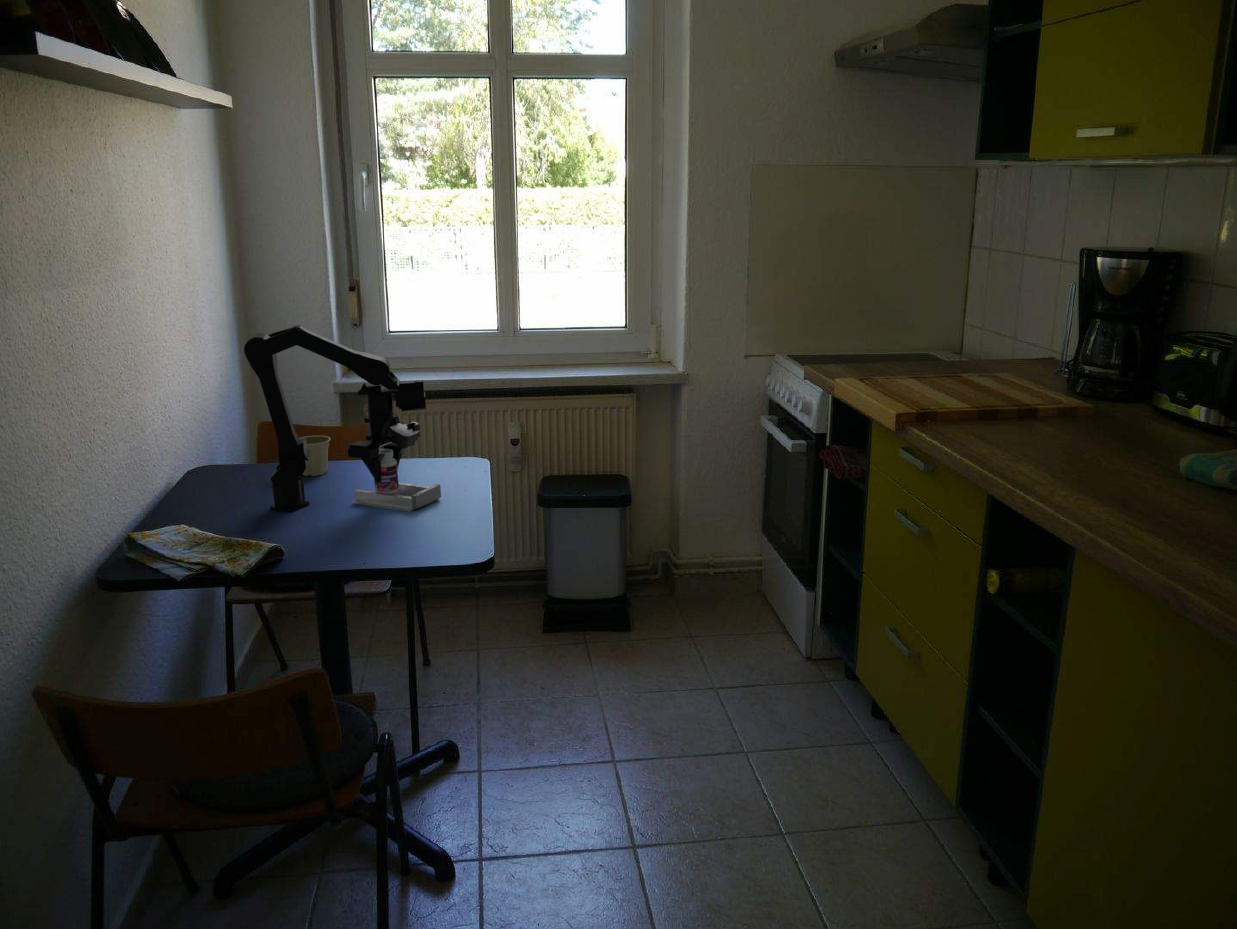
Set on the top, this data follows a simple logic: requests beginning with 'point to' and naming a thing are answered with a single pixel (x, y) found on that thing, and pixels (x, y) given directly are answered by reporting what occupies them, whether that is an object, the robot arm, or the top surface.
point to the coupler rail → (400, 497)
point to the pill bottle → (388, 473)
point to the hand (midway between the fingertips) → (386, 478)
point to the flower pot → (317, 455)
